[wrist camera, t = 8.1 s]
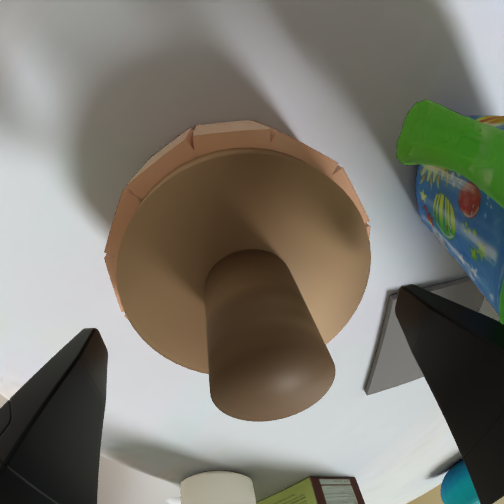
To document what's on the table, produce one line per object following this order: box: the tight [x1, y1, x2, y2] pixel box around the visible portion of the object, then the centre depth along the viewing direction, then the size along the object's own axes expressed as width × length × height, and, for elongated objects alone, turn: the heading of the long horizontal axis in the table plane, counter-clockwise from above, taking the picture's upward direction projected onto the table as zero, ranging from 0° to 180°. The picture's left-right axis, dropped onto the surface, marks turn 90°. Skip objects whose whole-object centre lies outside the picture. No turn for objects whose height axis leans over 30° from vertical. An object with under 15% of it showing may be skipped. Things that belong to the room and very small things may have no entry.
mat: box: [365, 277, 484, 395], centre depth 21 cm, size 10×10×1 cm
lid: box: [116, 147, 371, 421], centre depth 9 cm, size 8×8×5 cm
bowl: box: [104, 120, 370, 319], centre depth 13 cm, size 10×10×4 cm
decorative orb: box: [441, 460, 480, 504], centre depth 44 cm, size 15×15×15 cm
